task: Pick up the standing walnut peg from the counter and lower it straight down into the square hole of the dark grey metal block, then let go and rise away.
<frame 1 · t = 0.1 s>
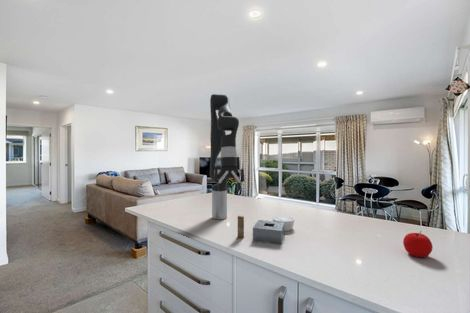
hand: (229, 191, 108), 22 cm above the kitchen island, tool pointing down, fingers open, 8 cm apart
ramekin: (283, 228, 124), on the kitchen island
walnut peg: (240, 237, 111), on the kitchen island
hole block: (269, 237, 111), on the kitchen island
fruit: (417, 255, 92), on the kitchen island
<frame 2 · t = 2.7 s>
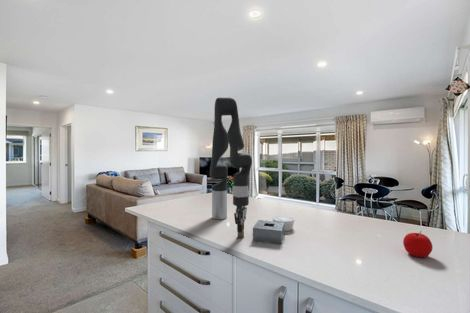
hand: (240, 230, 111), 3 cm above the kitchen island, tool pointing down, fingers closed on walnut peg, 3 cm apart
walnut peg: (240, 237, 111), on the kitchen island, touching gripper
everything else where it was.
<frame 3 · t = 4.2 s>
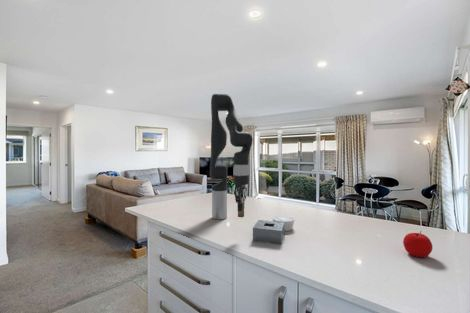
hand: (241, 209, 111), 13 cm above the kitchen island, tool pointing down, fingers closed on walnut peg, 3 cm apart
walnut peg: (240, 216, 111), point 10 cm above the kitchen island, touching gripper
everything else where it was.
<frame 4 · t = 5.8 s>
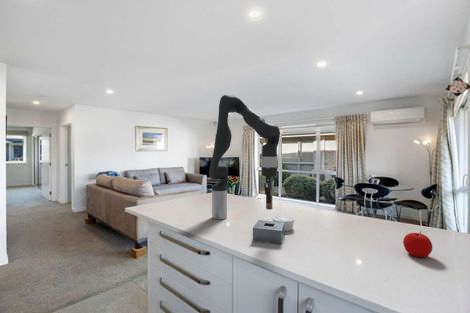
hand: (269, 202, 110), 17 cm above the kitchen island, tool pointing down, fingers closed on walnut peg, 3 cm apart
walnut peg: (269, 208, 110), point 14 cm above the kitchen island, touching gripper
everything else where it was.
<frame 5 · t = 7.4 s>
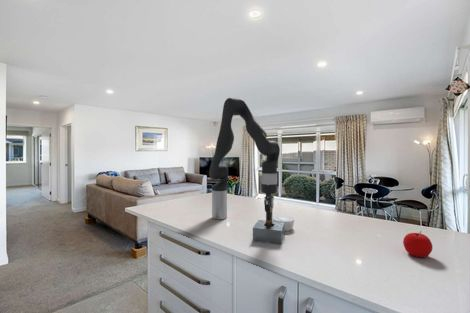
hand: (269, 218, 110), 9 cm above the kitchen island, tool pointing down, fingers closed on walnut peg, 3 cm apart
walnut peg: (269, 225, 110), point 6 cm above the kitchen island, touching gripper
everything else where it was.
when the fingers open (7 cm above the kitchen island, at t = 8.7 s): walnut peg drops 3 cm, resting in hole block.
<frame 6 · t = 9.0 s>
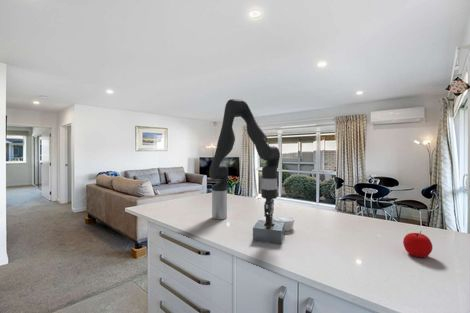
hand: (269, 223, 110), 7 cm above the kitchen island, tool pointing down, fingers open, 5 cm apart
walnut peg: (269, 237, 111), resting in hole block
everything else where it was.
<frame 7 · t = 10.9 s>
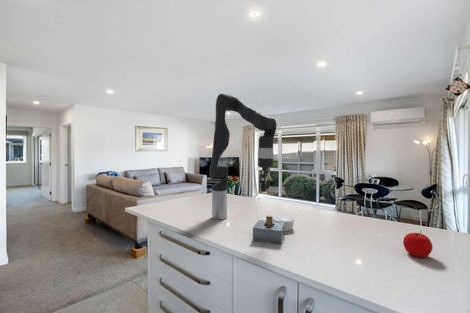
hand: (265, 190, 114), 22 cm above the kitchen island, tool pointing down, fingers open, 8 cm apart
nothing on the kitchen island moved.
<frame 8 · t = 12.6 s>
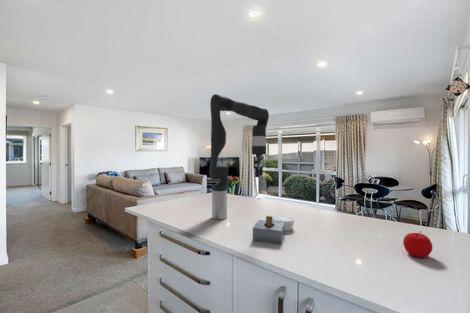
hand: (258, 176, 121), 28 cm above the kitchen island, tool pointing down, fingers open, 8 cm apart
nothing on the kitchen island moved.
at the end: walnut peg 0.3 cm off-centre on the hole block, point 0.0 cm above the hole block's base; walnut peg tilted 0°; the gripper is holding nothing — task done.
